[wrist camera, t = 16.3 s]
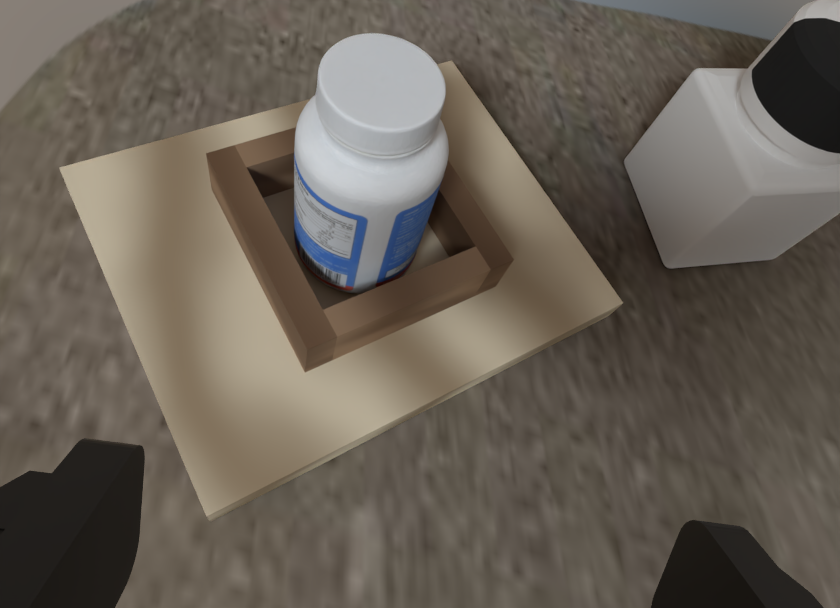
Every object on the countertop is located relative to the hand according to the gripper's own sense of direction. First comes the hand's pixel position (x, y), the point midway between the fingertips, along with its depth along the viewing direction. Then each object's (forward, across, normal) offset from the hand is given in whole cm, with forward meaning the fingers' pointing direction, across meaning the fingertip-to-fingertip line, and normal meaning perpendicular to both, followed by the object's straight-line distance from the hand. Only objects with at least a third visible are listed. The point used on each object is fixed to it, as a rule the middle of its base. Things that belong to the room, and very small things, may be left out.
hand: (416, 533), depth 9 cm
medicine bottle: (+26, -17, -3) cm, 31 cm away
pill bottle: (+20, +2, +1) cm, 20 cm away
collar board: (+21, +2, +2) cm, 21 cm away
